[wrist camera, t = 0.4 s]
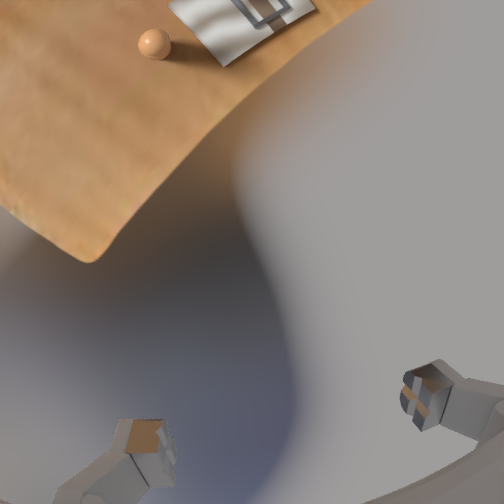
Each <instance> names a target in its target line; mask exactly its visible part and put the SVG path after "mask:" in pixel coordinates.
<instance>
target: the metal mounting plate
mask: <svg viewBox="0 0 504 504" xmlns="http://www.w3.org/2000/svg"><path fill="white" fill-rule="evenodd" d="M168 7H169V8H170V9H171V11H172V12H173V13H174V14H175V15H176V16H177V17H178V18H179V19H180V20H181V21H182V22H183V23H184V24H185V25H186V26H187V27H188V28H189V29H190V30H191V32H192V33H193V34H194V35H195V36H196V37H197V38H198V39H199V40H200V41H201V42H202V44H203V45H204V46H205V47H206V48H207V49H208V50H209V51H210V53H211V54H212V55H213V56H214V57H215V58H216V59H217V61H218V62H219V63H220V64H221V65H222V66H223V67H224V66H226V65H227V64H229V63H230V62H231V61H233V60H234V59H236V58H237V57H238V56H240V55H241V54H243V53H244V52H245V51H247V50H248V49H250V48H251V47H253V46H254V45H256V44H257V43H259V42H260V41H262V40H263V39H265V38H266V37H268V36H270V35H271V34H273V33H274V32H276V31H278V30H279V29H281V28H283V27H284V26H286V25H287V24H289V23H291V22H293V21H294V20H296V19H298V18H299V17H301V16H303V15H305V14H306V13H308V12H310V11H312V10H314V9H316V8H315V7H314V6H313V4H312V3H311V2H310V0H174V1H172V2H171V3H169V4H168Z"/></svg>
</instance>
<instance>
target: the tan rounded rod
mask: <svg viewBox="0 0 504 504" xmlns="http://www.w3.org/2000/svg"><path fill="white" fill-rule="evenodd" d="M138 46H139V50H140V51H141V53H142V54H143V55H145V56H147V57H149V58H150V59H153V60H162V59H164V58H166V57H167V56H168V55H169V53H170V51H171V43H170V38H169V36H168V34H167V33H166V32H165V31H163V30H161V29H150V30H148V31H146V32H145V33H144V34H143V35H142V36H141V37H140V39H139V43H138Z"/></svg>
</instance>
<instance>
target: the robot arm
mask: <svg viewBox="0 0 504 504" xmlns="http://www.w3.org/2000/svg"><path fill="white" fill-rule="evenodd" d="M403 382H404V383H405V386H404V387H403V389H402V390H401V393H400V402H401V406H402V408H403V410H404V411H405V413H406V414H409V415H412V416H413V419H412V421H413V423H414V424H415V425H416V426H417V427H418V428H419V430H420V431H421V432H422V431H424V430H427V429H429V428H432V427H434V426H436V425H438V424H440V425H442V426H444V427H446V428H448V429H451V430H453V431H455V432H458V433H460V434H462V435H465V436H467V437H470V438H472V439H474V440H477V441H478V444H477V445H476V447H475V449H474V450H473V451H471V452H470V453H468V454H467V455H465V456H463V457H462V458H460V459H458V460H457V461H455V462H453V463H451V464H450V465H448V466H446V467H444V468H442V469H440V470H439V471H436V472H435V473H433V474H431V475H429V476H427V477H425V478H423V479H420V480H418V481H416V482H414V483H412V484H410V485H408V486H405V487H403V488H401V489H398V490H396V491H394V492H391V493H389V494H387V495H384V496H381V497H379V498H376V499H373V500H371V501H368V502H365V503H362V504H504V385H500V384H495V383H490V382H484V381H480V380H475V379H471V378H467V379H465V378H464V377H462V376H461V375H460V374H459V373H458V372H456V371H455V370H454V369H453V368H452V367H450V366H449V365H448V364H447V363H446V362H444V361H443V360H441V359H438V360H435V361H433V362H430V363H428V364H426V365H423V366H420V367H418V368H415V369H412V370H410V371H407V372H406V373H405V375H404V377H403ZM168 429H169V426H168V424H167V422H166V420H165V419H121V420H120V421H119V422H118V425H117V428H116V431H115V435H114V438H113V441H112V445H111V448H110V451H109V453H104V454H103V455H101V456H100V457H99V458H97V459H96V460H95V461H94V462H92V463H91V464H90V465H88V466H87V467H86V468H84V469H83V470H82V471H80V472H79V473H78V474H76V475H75V476H74V477H73V478H71V479H70V480H68V481H67V482H66V483H64V484H63V485H62V486H60V487H59V488H58V490H57V493H56V496H55V499H54V501H53V504H137V503H138V502H139V501H140V499H141V498H142V497H143V496H144V494H145V493H146V492H147V491H148V490H149V487H174V485H175V470H174V467H173V464H174V463H175V462H176V456H177V455H176V446H175V442H174V440H173V437H172V436H171V435H170V434H168ZM0 504H11V503H8V502H5V501H3V500H0Z"/></svg>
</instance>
